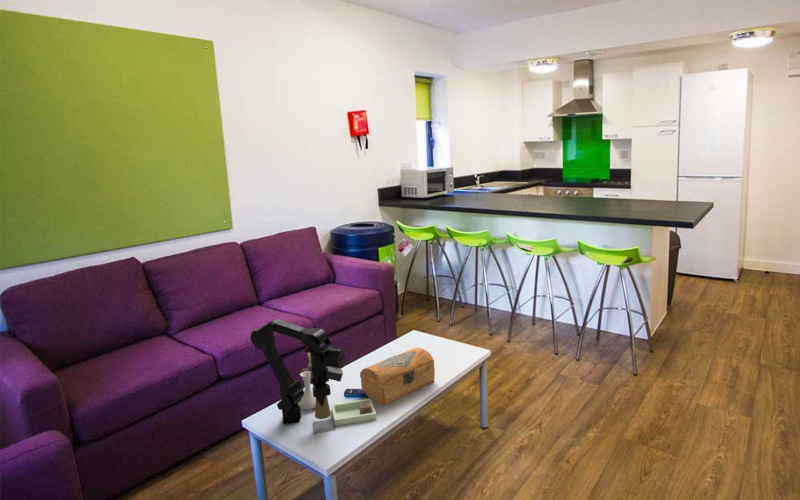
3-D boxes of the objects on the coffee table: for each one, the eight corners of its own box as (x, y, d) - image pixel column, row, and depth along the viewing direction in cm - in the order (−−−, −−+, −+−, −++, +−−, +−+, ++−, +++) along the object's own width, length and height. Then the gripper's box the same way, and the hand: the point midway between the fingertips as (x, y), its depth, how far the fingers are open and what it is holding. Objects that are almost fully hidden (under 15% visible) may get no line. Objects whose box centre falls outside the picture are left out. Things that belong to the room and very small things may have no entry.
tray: (334, 426, 191) (334, 420, 190) (331, 410, 202) (331, 404, 202) (376, 419, 194) (376, 413, 194) (371, 404, 206) (370, 398, 205)
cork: (313, 412, 192) (311, 386, 189) (328, 409, 194) (326, 382, 191) (316, 420, 186) (314, 393, 184) (332, 416, 188) (330, 389, 186)
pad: (314, 434, 186) (314, 433, 186) (312, 422, 194) (312, 421, 194) (335, 430, 188) (335, 429, 188) (333, 419, 196) (333, 418, 196)
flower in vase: (307, 415, 200) (301, 356, 194) (289, 406, 207) (283, 349, 202) (331, 401, 209) (327, 345, 204) (314, 393, 217) (309, 339, 211)
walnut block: (361, 417, 195) (360, 408, 195) (359, 412, 199) (359, 403, 198) (371, 416, 196) (370, 406, 195) (369, 410, 200) (369, 401, 199)
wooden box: (385, 408, 203) (383, 376, 200) (360, 394, 215) (358, 363, 212) (437, 382, 221) (436, 353, 219) (412, 371, 234) (411, 343, 231)
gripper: (343, 371, 178) (346, 411, 182) (337, 350, 196) (340, 387, 199) (311, 376, 176) (314, 416, 179) (308, 354, 194) (312, 391, 197)
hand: (321, 402), depth 189 cm, fingers closed on cork, 5 cm apart
